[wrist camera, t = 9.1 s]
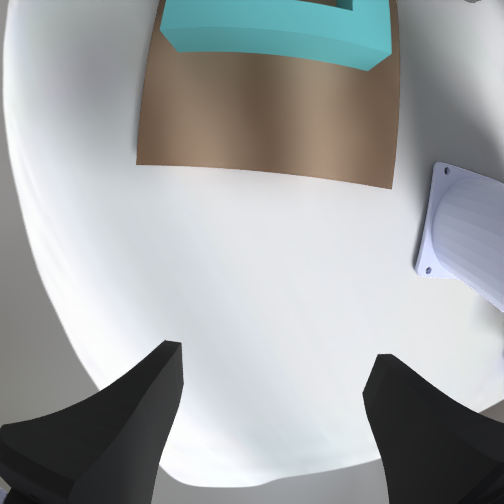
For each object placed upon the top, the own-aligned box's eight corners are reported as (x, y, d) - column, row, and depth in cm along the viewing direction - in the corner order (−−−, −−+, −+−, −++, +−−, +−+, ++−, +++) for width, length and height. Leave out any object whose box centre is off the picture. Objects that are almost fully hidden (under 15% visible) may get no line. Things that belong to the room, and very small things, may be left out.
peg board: (383, -41, 11) (410, -78, 6) (383, 187, 17) (430, 200, 12) (185, -62, 11) (167, -105, 6) (143, 164, 17) (98, 168, 11)
